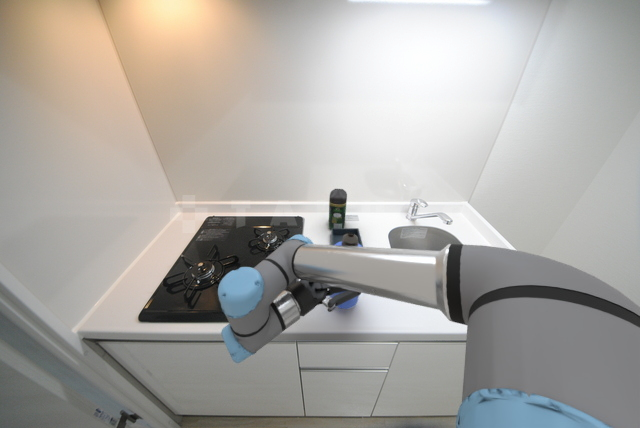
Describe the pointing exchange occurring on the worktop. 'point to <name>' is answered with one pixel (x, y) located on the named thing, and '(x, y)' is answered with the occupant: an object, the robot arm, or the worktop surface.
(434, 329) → the worktop surface
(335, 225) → the coffee jar
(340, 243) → the water bottle
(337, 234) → the dark grey shallow tray
